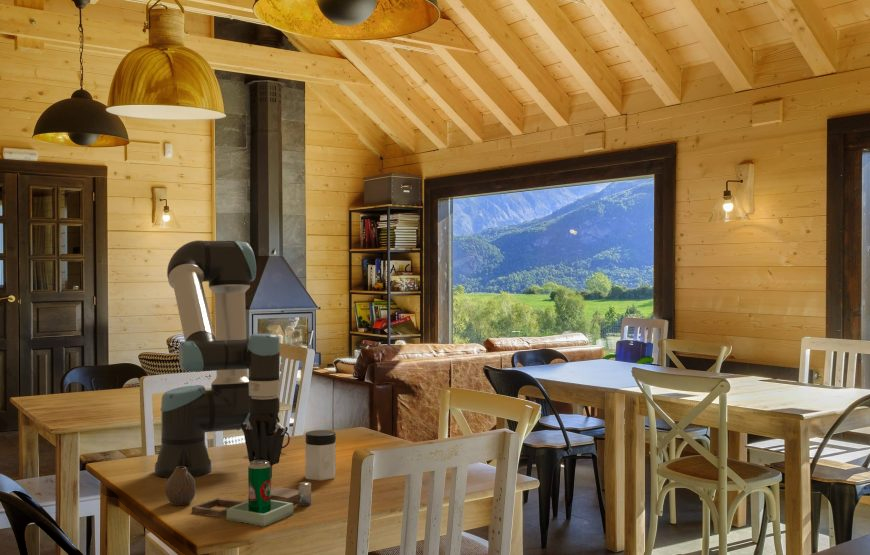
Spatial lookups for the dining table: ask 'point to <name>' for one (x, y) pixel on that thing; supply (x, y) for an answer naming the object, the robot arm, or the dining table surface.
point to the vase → (180, 487)
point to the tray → (276, 513)
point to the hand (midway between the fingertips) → (263, 492)
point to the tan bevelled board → (284, 495)
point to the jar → (320, 455)
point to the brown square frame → (204, 506)
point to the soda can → (259, 486)
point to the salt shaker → (304, 494)
